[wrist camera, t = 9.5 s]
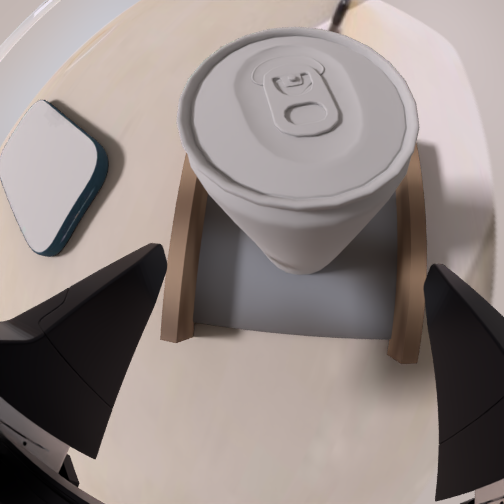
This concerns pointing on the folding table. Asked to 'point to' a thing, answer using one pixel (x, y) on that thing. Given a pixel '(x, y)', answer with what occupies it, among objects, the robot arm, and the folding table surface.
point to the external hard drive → (50, 176)
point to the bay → (299, 286)
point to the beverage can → (298, 139)
